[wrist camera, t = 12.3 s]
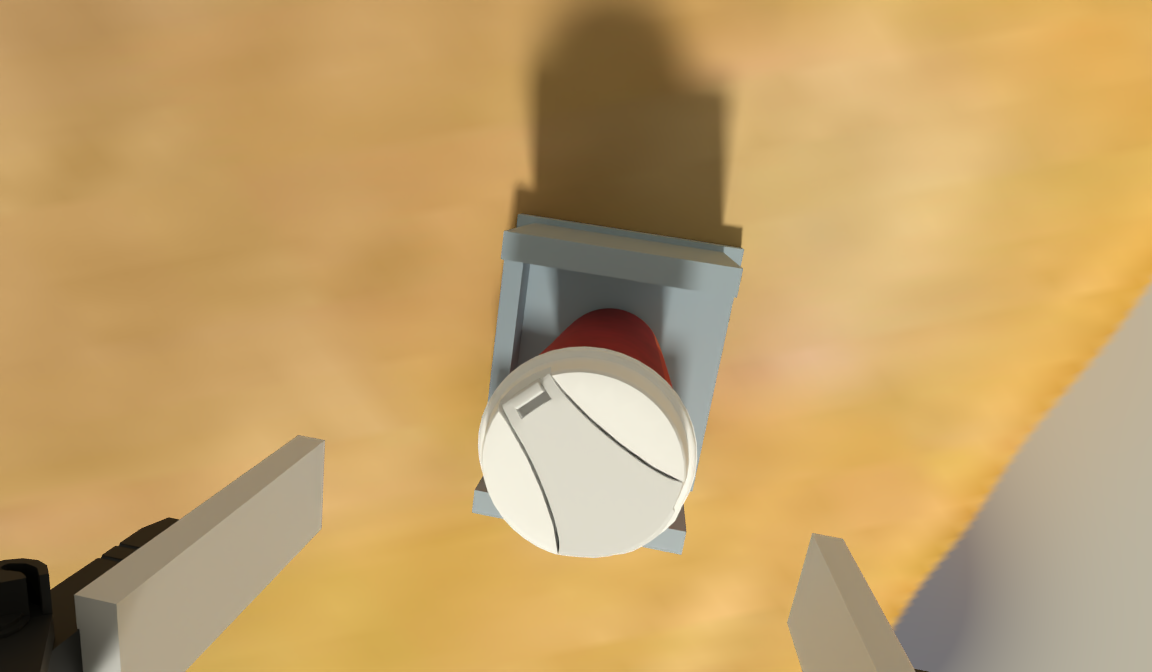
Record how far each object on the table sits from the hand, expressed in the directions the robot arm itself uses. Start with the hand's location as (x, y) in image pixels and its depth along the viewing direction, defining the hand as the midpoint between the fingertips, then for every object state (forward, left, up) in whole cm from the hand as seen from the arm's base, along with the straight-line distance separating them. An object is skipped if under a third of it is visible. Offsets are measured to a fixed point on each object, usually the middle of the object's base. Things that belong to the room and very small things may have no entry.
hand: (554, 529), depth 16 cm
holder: (0, 0, -19) cm, 19 cm away
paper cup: (0, 0, -18) cm, 18 cm away
